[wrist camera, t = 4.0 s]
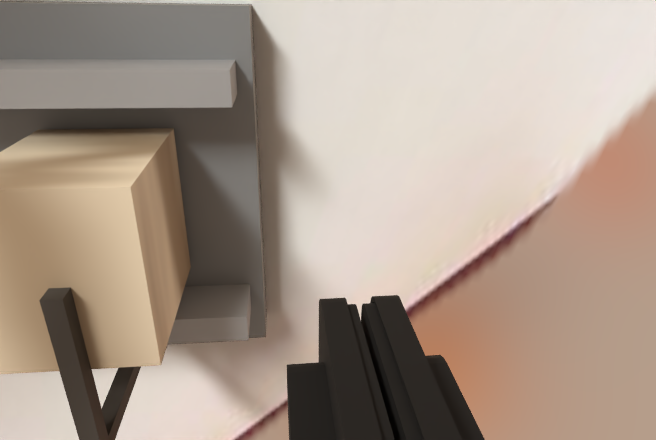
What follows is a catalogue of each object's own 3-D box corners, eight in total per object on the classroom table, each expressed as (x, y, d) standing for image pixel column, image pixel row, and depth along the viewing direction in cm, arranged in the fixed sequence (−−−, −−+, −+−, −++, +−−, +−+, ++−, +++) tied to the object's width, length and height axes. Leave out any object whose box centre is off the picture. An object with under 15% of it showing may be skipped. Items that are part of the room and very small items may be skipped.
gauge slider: (173, 128, 15) (123, 195, 10) (199, 333, 18) (171, 459, 14) (37, 129, 15) (-83, 200, 10) (89, 339, 18) (19, 471, 13)
